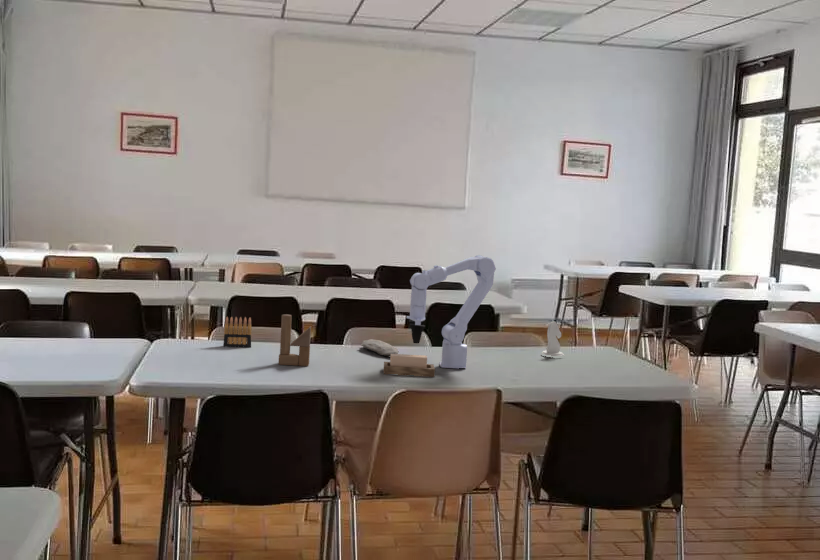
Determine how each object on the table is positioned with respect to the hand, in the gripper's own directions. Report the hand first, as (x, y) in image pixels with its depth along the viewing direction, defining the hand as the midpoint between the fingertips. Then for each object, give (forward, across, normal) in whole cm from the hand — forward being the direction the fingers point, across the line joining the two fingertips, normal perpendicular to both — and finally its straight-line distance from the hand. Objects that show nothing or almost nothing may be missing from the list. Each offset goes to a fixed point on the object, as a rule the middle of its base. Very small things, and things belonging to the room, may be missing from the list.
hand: (415, 341), depth 302 cm
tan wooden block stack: (+10, +9, -44) cm, 46 cm away
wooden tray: (+9, +12, -2) cm, 16 cm away
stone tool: (+10, -22, -13) cm, 27 cm away
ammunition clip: (+10, -18, -69) cm, 72 cm away
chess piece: (+10, -35, +60) cm, 70 cm away
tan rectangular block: (+9, +12, -3) cm, 15 cm away
